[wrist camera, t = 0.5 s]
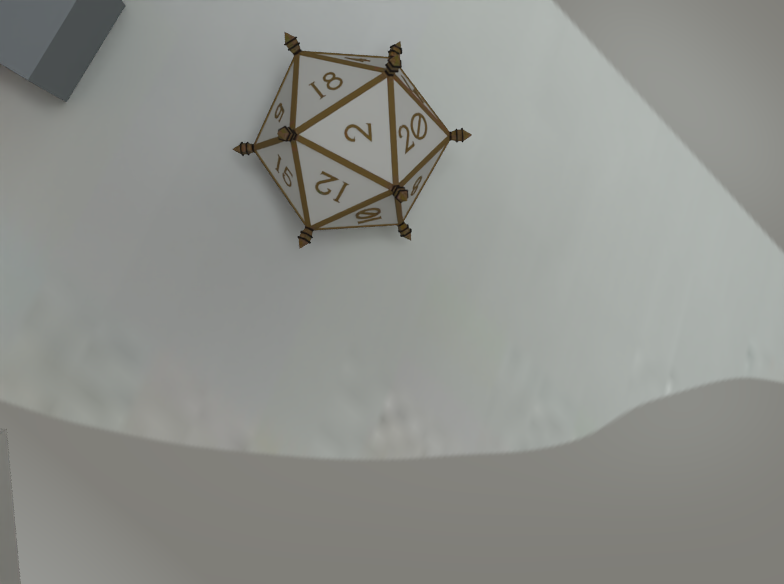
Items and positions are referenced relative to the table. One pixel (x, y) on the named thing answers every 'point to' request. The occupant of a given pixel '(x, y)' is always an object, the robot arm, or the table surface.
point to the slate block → (54, 39)
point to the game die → (349, 140)
